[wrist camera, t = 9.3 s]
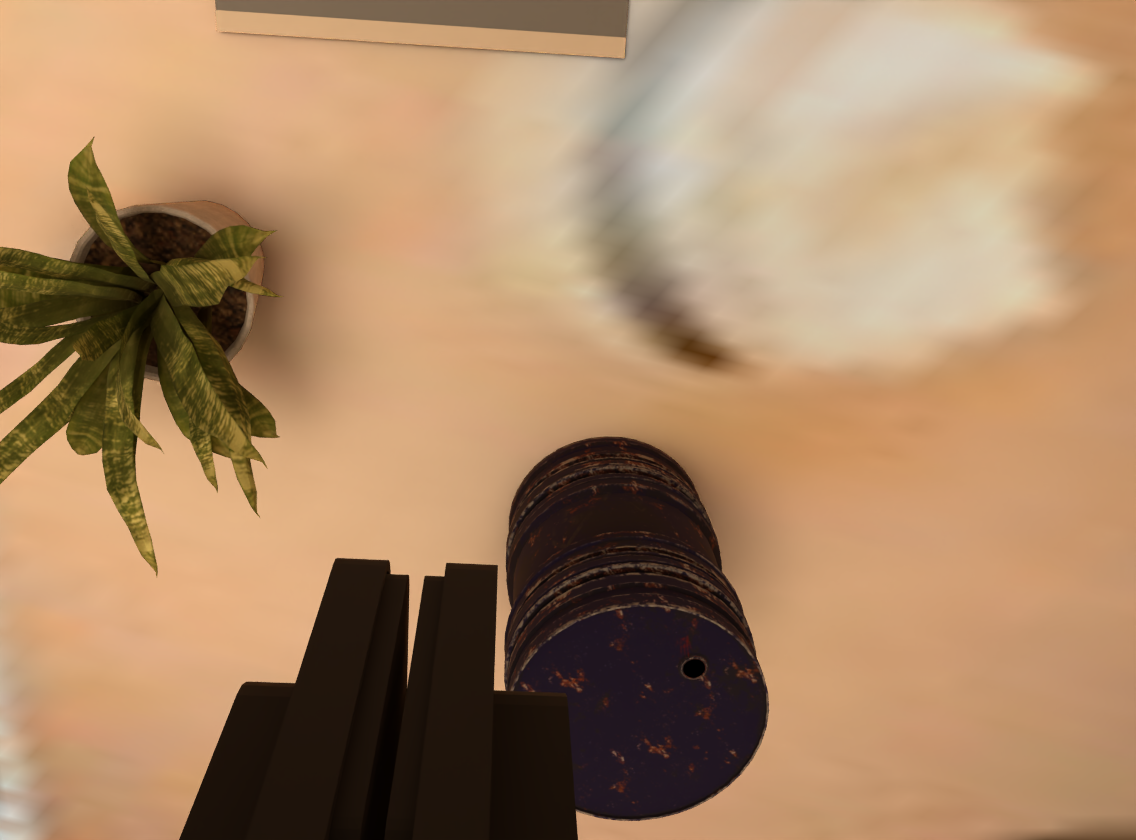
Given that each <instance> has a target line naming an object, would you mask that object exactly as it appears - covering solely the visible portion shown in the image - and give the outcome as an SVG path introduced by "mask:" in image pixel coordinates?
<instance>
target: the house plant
mask: <svg viewBox="0 0 1136 840" xmlns="http://www.w3.org/2000/svg"><path fill="white" fill-rule="evenodd" d="M93 140H94V137H93V139H92V140H91V141H90V142H89V143H88V145H87V146H86V147H85V148H84V149H83V150H82V151H81V152H80V153H79V154H78V155H77V156H76V157H75V158H74V159H73V160H72V161H71V162H70V166H69V172H68V183H69V190H70V192H71V195H72V197H73V199H74V202H75V204H76V205H77V207H78V209H79V210H80V212H81V213H82V215H83V216H84V218H85V219H86V221H87V222H88V223H89V225H90V226H91V227H90V228H89V229H88V230H87V231H86V232H85V234H84V235H83V236H82V237H81V238H80V239H79V241H78V242H77V245H76V247H75V249H74V252H73V254H72V256H71V259H70V261H66V260H61V259H56V258H51V257H47V256H44V255H41V254H37V253H33V252H29V251H24V250H20V249H13V248H6V247H0V342H3V343H8V344H18V345H29V344H41V343H44V342H48V341H52V340H55V339H59V338H64V337H65V338H64V339H63V340H61V341H60V342H59V343H58V344H57V345H56V346H54V347H53V348H52V349H51V350H50V351H49V352H48V353H47V354H46V355H45V356H44V357H43V358H42V359H41V360H40V361H39V362H38V363H36V364H35V365H34V366H32V367H31V368H30V369H29V370H27V371H26V372H25V373H23V374H22V375H21V376H19V377H18V378H17V379H15V380H14V381H13V382H11V383H10V384H9V385H7V386H6V387H5V388H3V389H2V390H0V414H1V413H2V412H3V411H5V410H6V409H7V408H9V407H10V406H12V405H13V404H14V403H16V402H17V401H18V400H20V399H21V398H22V397H24V396H25V395H27V394H28V393H29V392H31V391H32V390H33V389H34V388H35V387H36V386H37V385H38V384H39V383H40V382H41V381H42V380H43V379H44V378H45V377H46V376H47V375H48V374H50V373H51V372H52V371H53V370H54V369H55V368H57V367H58V366H59V365H60V364H61V363H62V362H63V361H65V360H66V359H67V358H68V357H69V356H70V355H71V354H72V353H73V352H75V351H76V352H77V353H78V354H79V355H80V357H79V358H78V360H77V361H76V362H75V363H74V364H73V365H72V367H71V368H70V369H69V371H68V372H67V373H66V375H65V376H64V378H63V379H62V380H61V382H60V383H59V385H58V386H57V387H56V388H55V389H54V390H53V391H52V392H51V393H50V394H49V395H48V396H47V397H46V398H45V399H44V400H43V401H42V402H41V403H40V404H39V405H38V406H37V407H36V408H35V409H34V410H33V411H32V412H31V413H30V414H29V415H28V416H27V417H26V418H25V419H24V420H23V421H21V422H20V423H19V424H18V425H17V426H16V427H15V428H14V429H13V430H12V431H11V432H10V433H9V434H8V435H7V436H6V437H5V438H4V439H3V440H2V441H1V442H0V484H1V483H2V482H3V481H4V480H5V479H6V478H7V477H8V476H9V475H10V474H11V473H12V472H13V471H14V470H15V469H16V468H17V467H18V466H19V465H20V464H21V463H22V462H23V461H24V460H25V459H26V458H27V457H28V456H29V455H31V454H32V453H33V452H34V451H35V450H36V449H37V448H39V447H40V446H41V445H42V444H43V443H44V442H45V441H47V440H48V439H49V438H50V437H52V436H53V435H54V434H55V433H56V432H58V431H59V430H60V429H61V428H62V427H63V426H65V425H66V424H67V423H68V422H69V424H68V427H67V430H66V435H67V440H68V442H69V444H70V446H71V448H72V449H73V450H74V451H75V452H76V453H77V454H79V455H88V454H93V453H97V452H98V451H99V450H100V449H101V448H102V462H103V468H104V474H105V480H106V486H107V490H108V492H109V494H110V496H111V498H112V500H113V502H114V504H115V506H116V508H117V510H118V511H119V513H120V515H121V516H122V518H123V520H124V521H125V523H126V525H127V526H128V528H129V530H130V532H131V535H132V537H133V539H134V541H135V544H136V546H137V547H138V549H139V551H140V553H141V555H142V556H143V558H144V559H145V560H146V561H147V562H148V563H149V564H150V566H151V567H152V568H153V569H154V570H155V572H156V576H157V573H158V570H157V563H156V559H155V554H154V550H153V545H152V539H151V536H150V533H149V529H148V526H147V523H146V519H145V514H144V510H143V506H142V502H141V498H140V494H139V490H138V486H137V481H136V468H135V454H136V444H137V437H139V438H140V439H141V440H142V441H144V442H145V443H146V444H148V445H150V446H153V447H156V448H158V449H160V450H161V451H162V449H161V447H160V446H159V445H158V443H157V442H156V441H155V440H154V438H153V437H152V436H151V435H150V434H149V433H148V431H147V430H146V429H145V428H144V426H143V425H142V424H141V423H140V407H141V398H142V390H143V382H144V378H147V379H151V380H156V381H160V384H161V387H162V391H163V395H164V397H165V400H166V402H167V405H168V407H169V409H170V412H171V414H172V416H173V418H174V420H175V422H176V424H177V426H178V427H179V429H180V430H181V432H182V433H183V435H184V436H185V437H187V438H188V439H189V440H191V443H192V446H193V448H194V450H195V453H196V455H197V457H198V459H199V460H200V462H201V465H202V467H203V470H204V473H205V475H206V477H207V479H208V480H209V481H210V483H211V484H212V485H213V486H214V487H215V488H216V490H217V491H218V485H217V480H216V474H215V467H214V462H213V455H212V452H213V453H216V454H219V455H222V456H225V457H228V458H231V460H232V463H233V467H234V470H235V473H236V476H237V480H238V481H239V483H240V485H241V487H242V489H243V491H244V493H245V495H246V497H247V499H248V501H249V503H250V505H251V507H252V509H253V510H254V511H255V513H256V514H257V515H258V513H257V491H256V487H255V482H254V478H253V473H252V468H251V463H250V459H254V460H257V461H260V462H263V464H264V465H265V466H266V464H265V462H264V460H263V459H262V457H261V455H260V454H259V452H258V451H257V450H256V449H255V448H254V446H253V445H252V444H251V436H256V437H264V438H277V437H279V436H277V435H276V425H275V420H274V418H273V417H272V415H271V413H270V412H269V411H268V409H267V408H266V407H265V406H264V405H263V404H262V403H261V402H260V401H259V400H258V399H257V398H256V397H254V396H253V395H252V394H251V393H250V392H248V391H247V390H246V389H245V388H244V387H242V386H241V385H240V384H239V383H238V381H237V378H236V376H235V374H234V372H233V370H232V367H231V365H230V363H229V362H230V360H231V359H232V358H233V357H234V356H235V355H236V354H237V353H238V352H239V351H240V350H241V349H242V347H243V345H244V343H245V341H246V339H247V337H248V335H249V333H250V331H251V327H252V323H253V318H254V314H255V309H256V305H257V301H258V296H259V295H265V296H271V297H284V296H278V295H276V294H275V293H273V292H272V291H270V290H269V289H268V288H265V287H262V286H261V283H262V277H263V272H264V258H266V257H263V250H262V248H261V245H260V244H261V242H262V241H263V240H264V239H265V238H266V237H267V236H269V235H270V234H272V233H274V232H276V231H277V230H276V231H262V230H258V229H255V228H252V227H250V225H249V224H248V223H247V222H246V221H245V220H244V219H243V218H241V217H240V216H239V215H238V214H237V213H236V212H234V211H232V210H230V209H228V208H227V207H225V206H223V205H220V204H217V203H213V202H209V201H193V202H177V203H162V204H146V205H135V206H131V207H128V208H124V209H120V210H117V211H116V209H115V206H114V203H113V200H112V197H111V194H110V191H109V189H108V187H107V185H106V182H105V180H104V178H103V176H102V174H101V172H100V170H99V169H98V167H97V165H96V163H95V159H94V155H93V151H92V147H91V146H92V143H93ZM74 319H76V321H77V322H76V323H72V324H66V325H58V326H49V325H54V324H58V323H62V322H66V321H70V320H74ZM45 326H47V327H45ZM162 452H163V451H162ZM266 468H267V466H266ZM267 469H268V468H267ZM258 516H259V515H258ZM259 517H260V516H259Z"/></svg>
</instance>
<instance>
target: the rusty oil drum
mask: <svg viewBox="0 0 1136 840" xmlns="http://www.w3.org/2000/svg"><path fill="white" fill-rule="evenodd" d="M506 572H507V580H506V581H507V589H508V596H509V601H510V604H511V607H512V609H511V613H510V615H509V618H508V622H507V627H506V631H505V647H504V651H505V673H504V682H505V689H506V691H523V692H551V693H566V695H567V701H568V711H569V725H570V739H571V752H572V766H573V780H574V794H575V808H576V811H578V812H580V813H583V814H587V815H590V816H594V817H598V818H603V819H611V820H619V821H640V820H648V819H657V818H662V817H666V816H670V815H674V814H678V813H680V812H683V811H686V810H688V809H691V808H694V807H696V806H698V805H700V804H702V803H704V802H705V801H707V800H709V799H711V798H713V797H714V796H716V795H717V794H718V793H720V792H721V791H723V790H724V789H725V788H727V787H728V786H729V785H730V784H731V783H732V782H733V781H734V780H735V779H736V778H737V777H739V776H740V775H741V774H742V772H743V771H744V770H745V768H746V767H747V766H748V765H749V763H750V762H751V761H752V759H753V758H754V756H755V754H756V752H757V750H758V748H759V746H760V745H761V742H762V739H763V736H764V733H765V730H766V727H767V720H768V714H769V701H768V691H767V687H766V683H765V678H764V675H763V673H762V670H761V667H760V665H759V662H758V660H757V657H756V650H755V646H754V642H753V637H752V634H751V632H750V628H749V626H748V623H747V620H746V618H745V616H744V613H743V609H742V605H741V603H740V600H739V598H738V596H737V594H736V591H735V589H734V588H733V587H732V585H731V584H730V582H729V581H728V579H727V578H726V576H725V575H724V574H723V573H722V565H721V557H720V550H719V545H718V541H717V537H716V535H715V533H714V530H713V528H712V525H711V522H710V519H709V517H708V515H707V513H706V510H705V508H704V506H703V504H702V503H701V501H700V499H699V497H698V494H697V492H696V490H695V487H694V485H693V483H692V481H691V480H690V478H689V477H688V475H687V474H686V472H685V471H684V470H683V469H682V468H681V467H680V466H679V464H678V463H677V462H676V461H675V460H673V459H672V458H671V457H669V456H668V455H667V454H665V453H664V452H663V451H661V450H659V449H657V448H655V447H653V446H651V445H649V444H646V443H643V442H640V441H637V440H633V439H627V438H622V437H598V438H589V439H585V440H581V441H577V442H574V443H571V444H569V445H567V446H564V447H562V448H560V449H558V450H556V451H555V452H553V453H551V454H550V455H548V456H547V457H545V458H544V459H543V460H542V461H541V462H539V463H538V464H537V465H536V466H535V467H534V468H533V469H532V470H531V471H530V472H529V474H528V475H527V476H526V477H525V478H524V480H523V482H522V483H521V485H520V487H519V488H518V490H517V492H516V495H515V497H514V500H513V502H512V506H511V511H510V516H509V534H508V538H507V545H506Z"/></svg>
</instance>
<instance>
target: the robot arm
mask: <svg viewBox="0 0 1136 840" xmlns="http://www.w3.org/2000/svg"><path fill="white" fill-rule="evenodd" d="M497 573H498V565H481V564H459V563H446V569H445V577H441V576H425V578H424V584H423V590H422V597H421V603H420V609H419V616H418V622H417V629H416V635H415V641H414V648H413V654H412V661H411V667H410V673H409V680H408V686H407V665H408V622H409V575H395V574H390V562H389V560H368V559H345V558H337V559H335V561H334V564H333V567H332V570H331V573H330V576H329V580H328V583H327V586H326V589H325V592H324V595H323V598H322V601H321V605H320V608H319V611H318V614H317V617H316V620H315V623H314V627H313V630H312V633H311V636H310V639H309V642H308V645H307V649H306V652H305V655H304V658H303V661H302V664H301V667H300V671H299V674H298V677H297V680H296V683H270V682H245V683H244V684H243V685H242V686H241V688H240V690H239V691H238V693H237V695H236V698H235V700H234V703H233V705H232V708H231V711H230V713H229V716H228V718H227V721H226V723H225V726H224V728H223V731H222V733H221V736H220V738H219V741H218V743H217V746H216V748H215V751H214V753H213V756H212V758H211V761H210V763H209V766H208V768H207V771H206V774H205V776H204V779H203V781H202V784H201V786H200V789H199V791H198V794H197V796H196V799H195V801H194V804H193V806H192V809H191V811H190V814H189V816H188V819H187V821H186V824H185V826H184V829H183V831H182V834H181V836H180V839H179V840H578V835H577V821H576V808H575V794H574V780H573V766H572V752H571V739H570V725H569V711H568V701H567V695H566V693H551V692H523V691H495V690H494V666H495V635H496V604H497Z"/></svg>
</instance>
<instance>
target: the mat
mask: <svg viewBox="0 0 1136 840" xmlns="http://www.w3.org/2000/svg"><path fill="white" fill-rule="evenodd" d="M215 4H216V10H215V16H216V31H219V32H234V33H249V34H264V35H279V36H295V37H310V38H325V39H340V40H355V41H370V42H385V43H401V44H416V45H431V46H446V47H461V48H476V49H492V50H507V51H522V52H537V53H552V54H567V55H582V56H598V57H613V58H624V57H625V45H626V29H627V17H628V4H629V0H215Z"/></svg>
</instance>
